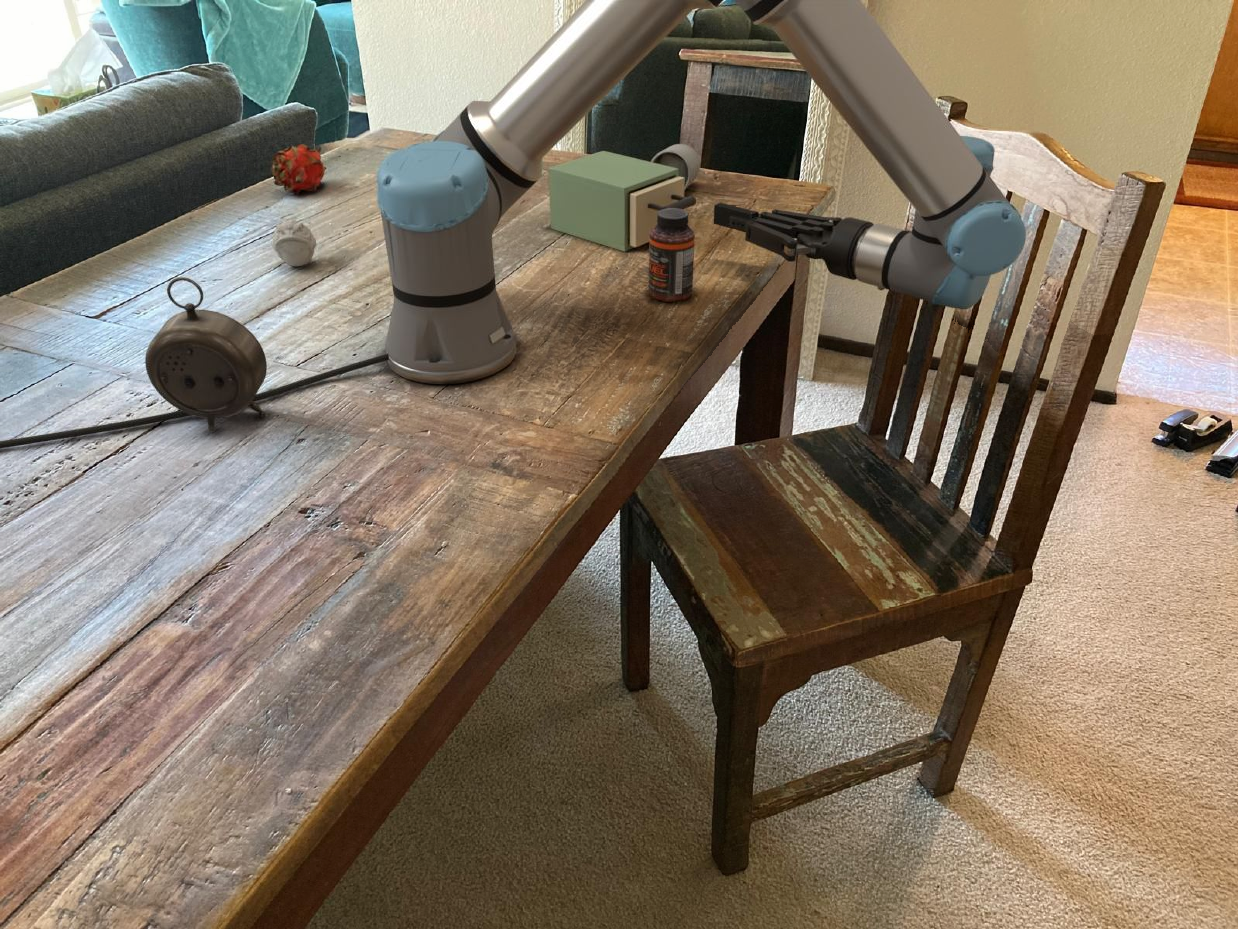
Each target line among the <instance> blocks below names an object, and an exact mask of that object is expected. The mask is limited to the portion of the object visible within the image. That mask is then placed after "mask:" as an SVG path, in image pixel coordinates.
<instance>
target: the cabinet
mask: <svg viewBox="0 0 1238 929" xmlns="http://www.w3.org/2000/svg"><path fill="white" fill-rule="evenodd" d="M547 170H548V172H547V173H548V190H549V191H548V193H549V210H550V211H549V212H550V229H551V230H554V231H556V232H557V231H558V232H561V233H564V234H567V235H571V236H573V237H576V238H580V239H583V240H587V241H589V242H593V243H596V244H599V245H602V246H605V247H609V248H611V249H615V250H618V251H620V252H628V251H630V250H632V249H634V248H636V247H633V246H630V239H628V192H630V191H633V190H635V189H638V188H641V187H644V186H646V185H649V184H652V183H655V182H657V181H660V180H663V179H666V178H668V177H669V180H670V179H673V178H675V177H678V174H679V169H677V168H673V167H669V166H665V165H661V164H657V163H652V162H651V161H648V160H644V159H639V158H636V157H631V156H627V155H623V154H619V153H614V152H611V151H606V150H601V151H598V152H595V153H591V154H588V155H585V156H581V157H578V158H576V159H573V160H568V161H566V162H563V163H559V164H556V165H553V166H550V167H548V168H547Z"/></svg>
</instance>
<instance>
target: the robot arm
mask: <svg viewBox="0 0 1238 929" xmlns="http://www.w3.org/2000/svg"><path fill="white" fill-rule="evenodd" d="M733 1H734V2H735V3H736V5H737V6H739V8H740V9H741V10H742V11H743V13H744V14H745V15H746V16H747V18H748V19H749V20H750V21H751V23H752V24H753V25H755V26H767V27H770V28H771V29H772V30H773V32H774V33H775V34H776V35H777V37H778V38H779V39H780V40H781V42H782V43H783V45H785V46H786V49H788V50H789V52H790V54H792V55H793V57H794V58H795V59H796V61H797V62H798V63H799V65H800V66H801V67H802V68H803V70H804V71H805V72H806V73H807V74H808V76H809V77H810V78H811V80H812V81H813V82H814V83H815V85H816V86H817V87H818V88H819V89H820V91H821V93H823V95H824V96H825V97H826V98H827V100H828V101H829V102H830V104H831V105H832V106H833V107H834V109H835V110H836V111H837V113H839V115H840V116H841V118H842V119H843V120H844V121H845V122H846V124H847V125H848V126H849V128H850V129H851V130H852V132H854V134H855V135H856V136H857V138H858V139H859V140H860V141H861V143H862V144H863V145H864V147H865V148H866V149H867V150H868V152H869V154H871V155H872V156H873V158H874V159H875V161H876V162H877V163H878V164H879V165H880V167H881V168H882V169H883V171H884V172H885V173H886V175H888V177H889V178H890V179H891V181H892V182H893V183H894V185H896V187H897V188H898V190H899V191H900V192H901V193H902V194H903V196H904V197H905V199H907V201H908V202H909V203H910V205H911V206H912V208H914V210H915V211H914V218H913V224H912V228H911V231H910V230H906V229H902V228H899V227H895V226H891V225H887V224H883V223H874V222H871V221H868V220H865V219H859V218H855V217H852V216H851V217H850V216H849V217H845V218H842V217H839V216H837V217H836V216H835V217H834V216H833V217H831V216H822V215H821V216H820V215H815V214H808V213H801V212H794V211H788V210H783V209H776V208H775V209H772V210H771V212H768V211H761V212H759V211H756V210H751V209H748V208H744V207H740V206H736V205H732V204H728V203H724V202H719V203H716V204H714V206H713V207H714V208H713V225H716V226H721V227H723V228H728V229H731V230H735V231H739V232H741V233H745V238H744V240H745V241H746V242H748V243H750V244H753V245H755V246H757V247H760V248H763V249H765V250H766V251H768V252H772V253H774V254H776V255H779V256H781V257H782V258H783V259H784V260H786V261H787V262H789V263H790V262H796V257H797V256H801V255H803V256H806V257H807V258H808V259H812V260H822V261H823V262H824V263H825V266H826V269H827V271H828V272H829V273H830V274H831V275H834V276H837V277H841V278H845V279H848V280H851V281H855V280H857V281H858V282H860V283H863V284H866V285H870V286H874V287H877V290H879V291H884V290H887V291H892V292H896V293H899V294H902V295H906V296H909V297H913V298H914V299H915V298H916V299H919V300H922V301H926V302H929V303H931V304H932V305H937V306H942V307H947V308H951V309H957V310H968V309H971V308H972V307H974V306H975V305H976V304H977V303H978V302H979V301H980V300H981V298H982V297H983V295H984V294H985V292H986V289H987V287H988V285H989V282H990V279H991V276H992V275H996V274H998V273H1001V272H1003V271H1004V270H1006V269H1008V268H1009V267H1010V266H1012V265H1013V264H1014V263H1015V262H1016V260H1017V259H1018V258H1019V257H1020V255H1021V254H1022V252H1023V251H1024V247H1025V244H1026V239H1027V230H1026V229H1027V228H1026V225H1025V223H1024V221H1023V220H1022V216H1021V214H1020V213H1019V211H1018V210H1017V209H1016V207H1015V206H1014V205H1013V204H1012V203H1011V202H1010V201H1009V200H1008V199H1007V198H1006V196H1005V195H1004V193H1003V192H1002V191H1001V189H1000V188H999V186H997V184H996V182H995V181H994V180H993V179H992V177H991V175H992V172H993V171H994V168H995V167H994V161H995V160H994V159H995V147H994V145H993V144H992V143H991V142H990V141H988V140H985V139H984V138H979V137H975V136H970V135H969V136H968V135H960V133H958V131H957V130H956V128H955V127H954V125H953V124H952V123H951V121H950V120H949V119H948V117H947V116H946V115H945V113H944V112H943V111H942V109H941V107H940V106H939V105H938V103H937V102H936V100H934V98H933V97H932V95H931V94H930V93H929V91H928V90H927V89H926V87H925V86H924V85H923V83H922V82H921V80H920V79H919V78H918V76H917V75H916V74H915V72H914V71H913V69H911V66H910V65H909V63H907V61H906V60H905V58H904V57H903V56H902V55H901V53H900V52H899V50H898V49H897V48H896V46H895V45H894V44H893V42H892V41H891V39H890V38H889V36H887V34H886V33H885V31H884V30H883V28H882V27H881V26H880V25H879V23H878V21H877V20H876V19H875V18H874V16H873V15H872V13H871V12H870V11H869V9H868V8H867V6H865V4H864V3H863V1H862V0H733ZM722 2H724V0H584V2H583V3H582V4H581V5H580V6H579V7H578V8H577V9H576V10H575V11H574V12H573V13H572V15H571V16H570V17H569V18H568V19H567V20H566V21H565V22H564V23H563V24H562V25H561V26H560V27H559V28H558V30H556V31H555V33H553V34H552V35H551V37H549V39H548V40H547V41H546V42H545V43H544V44H543V45H542V46H541V47H540V49H538V51H537V52H535V54H534V55H533V56H532V57H531V58H530V59H529V60H528V61H527V62H526V63H525V64H524V65H523V66H522V67H521V68H520V70H519V71H518V72H517V73H516V74H515V75H514V76H513V77H511V79H510V80H509V81H508V82H507V83H506V84H505V86H503V87H502V88H501V90H500V91H499V92H497V94H496V95H495V96H494V97H493V98H492V99H491V100H489V101H485V100H472V101H470V103H469V104H467V105H466V107H465V108H464V109H463V110H462V111H461V112H460V113H459V114H458V115H457V116H456V117H455V118H454V120H452V122H451V123H449V125H447V127H446V128H445V129H444V130H442V131H441V132H440V133H438V134H437V135H436V137H435V138H433V139H432V141H423V142H417V143H413V144H409V145H408V146H407V148H399V149H397V150H395V151H393V152H391V153H390V154H389V155H387V156H386V157H385V158H384V159H383V160H382V162H380V165H379V167H378V169H377V173H376V181H377V188H376V195H377V197H376V200H377V201H376V202H377V205H378V209H380V216H381V223H382V229H383V236H384V242H385V248H386V252H387V253H386V255H387V261H388V268H389V273H390V280H391V286H392V292H393V293H392V294H393V303H392V309H391V314H390V319H389V323H388V324H389V325H388V329H387V336H386V339H385V354H381V355H377V356H374V357H371V358H368V359H367V358H366V359H364V360H361V361H358V362H354V363H352V364H347V365H344V366H342V367H338V368H334V369H332V370H328V371H325V372H322V373H319V374H315V375H312V376H309V377H306V378H303V379H300V380H297V381H294V382H291V383H288V384H285V385H282V386H279V387H276V388H272V389H269V390H266V391H263V392H259V393H257V394H256V395H255V397H254V399H253V402H254V403H256V402H258V401H259V402H260V401H262V400H266V399H270V398H272V397H276V396H278V395H282V394H285V393H288V392H290V391H291V392H292V391H293V390H296V389H299V388H303V387H305V386H308V385H311V384H312V385H313V384H314V383H318V382H322V381H324V380H328V379H331V378H333V377H336V376H340V375H344V374H346V373H349V372H353V371H356V370H359V369H364V368H367V367H369V366H373V365H377V364H379V363H383V362H386V361H387V364H388V366H389V368H390V369H391V370H392V371H393V372H394V373H395V374H397V375H398V376H401V377H403V378H404V379H407V380H410V381H413V382H418V383H423V384H432V385H450V384H453V385H454V384H460V383H467V382H473V381H476V380H480V379H484V378H486V377H489V376H492V375H494V374H496V373H498V372H500V371H501V370H503V369H505V368H506V367H508V366H509V365H510V364H511V363H512V361H513V360H514V359H515V357H516V354H517V341H516V334H515V331H514V328H513V326H512V323H511V321H510V318H509V316H508V314H507V312H506V309H505V307H504V305H503V303H502V300H501V298H500V295H499V293H498V290H497V284H496V272H495V259H494V247H493V234H494V231H495V230H496V228H497V226H498V225H499V223H500V220H501V218H502V217H504V215H505V214H506V213H507V212H508V211H509V210H510V208H511V207H513V206H514V204H516V202H518V201H519V200H520V199H521V198H522V197H523V196H524V195H525V194H526V193H527V192H528V191H529V190H530V189H531V188H532V187H533V186H534V185H535V184H536V183H537V182H538V181H539V180H540V179H541V178H542V176H543V159H544V157H545V156H546V155H547V154H548V153H549V152H550V151H551V150H552V149H553V148H554V147H555V146H556V145H557V144H558V143H559V142H560V141H561V140H562V139H563V138H564V137H565V136H567V134H568V133H569V132H570V131H571V130H572V129H573V128H574V127H576V125H577V124H578V123H580V122H581V120H582V119H584V118H585V116H586V115H588V114H589V113H590V112H591V111H592V110H593V109H594V108H595V107H596V106H597V105H598V104H599V103H600V102H601V101H602V100H603V99H604V98H605V97H606V96H607V95H608V94H609V93H610V92H611V91H612V90H613V89H614V88H615V87H616V86H617V85H618V84H619V83H620V82H622V80H624V78H626V77H627V75H628V74H630V72H632V70H634V69H635V67H637V66H638V64H640V63H641V62H642V61H643V60H644V59H645V58H646V57H647V56H648V55H649V54H650V53H651V52H652V51H653V50H654V49H655V48H656V47H657V46H658V45H660V43H661V42H662V41H663V40H664V39H665V38H666V37H667V36H669V34H670V33H671V32H672V31H673V30H674V29H675V28H677V26H678V25H679V24H680V23H681V22H682V21H684V20H685V18H687V17H688V16H689V15H690V14H691V12H693V11H694V10H697V9H699V10H704V9H705V10H715V9H716V8H718V7H719V6H720V5H721V4H722ZM193 416H194V415H191V414H188V413H185V412H183V411H181V410H177V411H171V412H166V413H162V414H156V415H151V416H146V417H140V418H135V419H128V420H124V421H117V422H111V423H106V424H100V425H93V426H87V427H82V428H76V429H69V430H64V431H56V432H51V433H45V434H44V433H43V434H39V435H38V434H37V435H32V436H25V437H18V438H11V439H4V440H0V449H6V448H13V447H19V446H25V445H32V444H33V445H34V444H40V443H45V442H52V441H57V440H63V439H70V438H76V437H81V436H88V435H89V436H90V435H93V434H94V435H95V434H100V433H106V432H111V431H117V430H118V431H119V430H123V429H129V428H135V427H139V426H145V425H150V424H151V425H152V424H156V423H161V422H166V421H172V420H176V419H182V418H186V417H187V418H188V417H193Z"/></svg>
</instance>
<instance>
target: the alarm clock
mask: <svg viewBox="0 0 1238 929" xmlns="http://www.w3.org/2000/svg"><path fill="white" fill-rule="evenodd" d="M183 281H185V282H188V283H190V284H192V285H193V286H194V287H195V288H196V289H197V290H198V292H199V301H198V302H197V303H196V304H194V303H192V302H188V303H186V304H184V305H182V304H180V303H178V301H176V300H175V299H174V297H173V296H172V293H171V291H172V290H171V289H172V286H173V285H174V284H175V283H177V282H183ZM166 292H167V297H168V299H170V301H171V303H172V304H174V306H176V307H178V308H180V309H184V311H181V312H178V313H176V314H174V315H172V316H171V317H170V318H169V319H167V320H166V322H164V324H163V325H162V326H161V328H160V330H159V331H158V332H157V333H156V334H155V336H154V337H153V338H152V340H151V341H150V343H149V344H148V346H147V349H146V352H145V359H144V361H145V362H144V363H145V365H144V366H145V369H146V374H147V376H148V379H149V381H150V383H151V385H152V386H153V388H154V390H156V392H157V393H158V394H159V395H160V397H162V398H163V399H164V400H165V401H166V403H169V404H170V405H171V406H173V407H174V408H176V409H178V411H183V412H185V413H188V414H191V415H193V416H194V417H198V418H201V419H206V422H207V429H208V431H209V432H210V433H213V432H215V430H216V422H215V420H217V419H224V418H229V417H233V416H236V415H238V414H239V413H241V412H243V411H244V410H245V409H247V408H248V407H249V408H250V409H251V410H252V411H254V412H255V413H258V416H259V417H260V418H264V417H265V416H266V411H264V410H263V409H262V408H261V407H260V405H259V404H257V403H256V402H253V399H254V397H255V395H256V394H258V392H259V390H260V388H261V387H262V385H263V383H264V381H265V379H266V376H267V371H268V370H267V369H268V364H267V358H266V354H265V351H264V348H263V347H262V345H261V343H260V341H259V340H258V339H257V337H256V336H255V335H254V334H253V333H252V331H250V330H249V329H248V328H247V327H246V326H245V325H244V324H242V323H241V322H239V321H238V320H236V319H234V317H233V318H232V317H231V316H229V315H227V314H224V313H221V312H218V311H213V310H208V309H197V308H199V307H200V306H201V304H202V303H203V301H204V291H203V289H202V287H201V286H200V284H199V283H197V282H196V281H195V280H193V279H191V278H189V277H184V276H179V277H175V278H173V279H171V280H170V282H169V283H168V284H167V288H166Z"/></svg>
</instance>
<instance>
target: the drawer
mask: <svg viewBox="0 0 1238 929" xmlns="http://www.w3.org/2000/svg"><path fill="white" fill-rule="evenodd" d="M684 183H685V178H684V177H680V176H678V177H675V178H673V179H670V180H669V177H668V178H666V179H663V180H660V181H657V182H655V183H652V184H649V185H646V186H644V187H641V188H638V189H635V190H633V191H630V192H628V239H630V246H633V247H635V248H637V247H640V246H642V245H645V244H647V243H649V241H650V232H651V230H652V228H654V227H655V226H656V225H657V224H658V223H657V215H658V212H659V211H660V210H663V209H667V208H677V209H683V210H686V209H688V208H690V207H693V206H695V205H696V203H697V198H696V197H695V196H694V195H690V196H687V197H686V196H685V190H684Z"/></svg>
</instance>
